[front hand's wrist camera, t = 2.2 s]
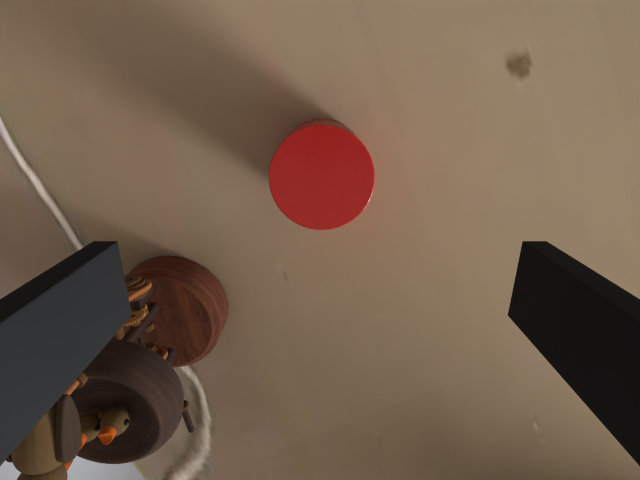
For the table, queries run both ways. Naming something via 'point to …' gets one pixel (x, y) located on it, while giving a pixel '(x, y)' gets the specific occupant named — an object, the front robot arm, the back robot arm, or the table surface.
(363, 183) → the red cylinder
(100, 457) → the brown wooden figurine
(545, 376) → the table surface
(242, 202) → the table surface
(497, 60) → the table surface
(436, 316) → the table surface
